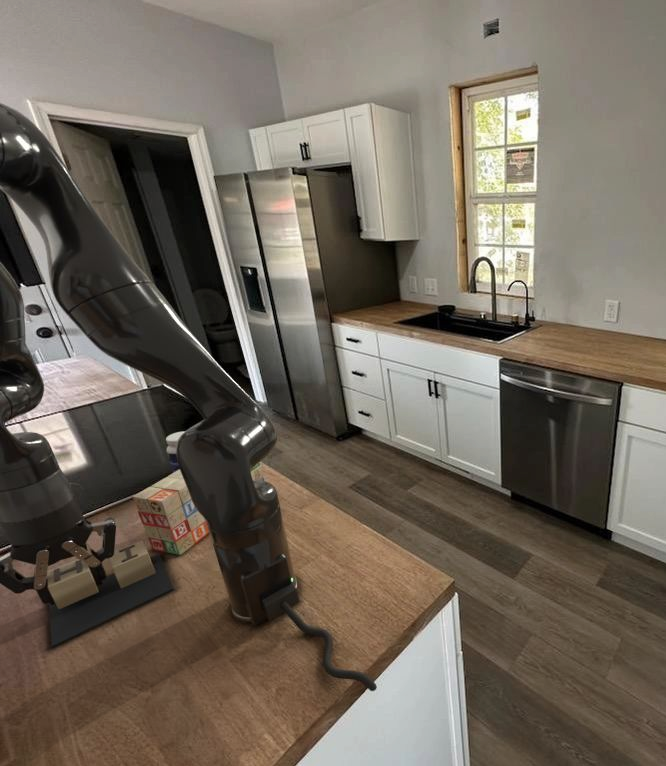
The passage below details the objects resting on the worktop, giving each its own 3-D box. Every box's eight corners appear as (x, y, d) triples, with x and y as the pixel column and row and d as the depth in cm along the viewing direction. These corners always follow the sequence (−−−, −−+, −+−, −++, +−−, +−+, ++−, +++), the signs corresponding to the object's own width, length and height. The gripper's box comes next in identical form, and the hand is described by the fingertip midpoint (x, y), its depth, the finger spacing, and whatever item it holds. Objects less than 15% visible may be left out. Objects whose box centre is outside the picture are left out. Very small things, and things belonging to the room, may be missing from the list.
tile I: (155, 573, 71) (147, 552, 69) (121, 588, 68) (112, 567, 66) (150, 559, 74) (143, 539, 72) (117, 573, 71) (108, 553, 69)
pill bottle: (168, 475, 99) (157, 438, 95) (193, 463, 104) (183, 428, 100) (184, 480, 97) (173, 443, 93) (209, 468, 102) (199, 433, 98)
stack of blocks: (243, 484, 96) (231, 438, 91) (266, 488, 95) (256, 441, 90) (151, 550, 76) (131, 495, 72) (179, 556, 75) (160, 501, 71)
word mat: (174, 589, 69) (173, 588, 68) (52, 648, 59) (51, 646, 59) (160, 555, 75) (160, 553, 75) (49, 602, 66) (48, 600, 66)
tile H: (98, 592, 66) (89, 570, 64) (58, 609, 63) (47, 587, 61) (96, 576, 69) (86, 555, 67) (57, 592, 66) (46, 570, 64)
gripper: (-47, 541, 52) (9, 636, 58) (106, 493, 62) (140, 578, 68) (-41, 514, 57) (10, 604, 63) (100, 473, 67) (132, 555, 73)
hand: (77, 590), depth 66 cm, fingers closed on tile H, 4 cm apart
